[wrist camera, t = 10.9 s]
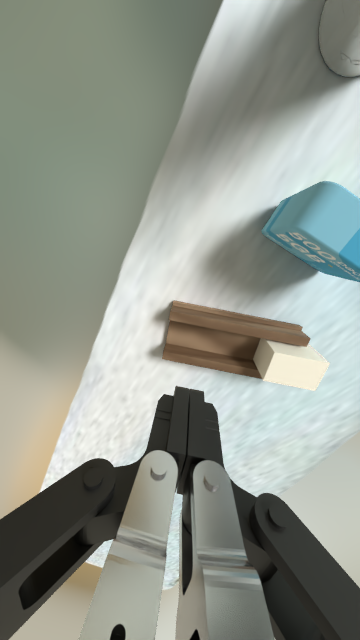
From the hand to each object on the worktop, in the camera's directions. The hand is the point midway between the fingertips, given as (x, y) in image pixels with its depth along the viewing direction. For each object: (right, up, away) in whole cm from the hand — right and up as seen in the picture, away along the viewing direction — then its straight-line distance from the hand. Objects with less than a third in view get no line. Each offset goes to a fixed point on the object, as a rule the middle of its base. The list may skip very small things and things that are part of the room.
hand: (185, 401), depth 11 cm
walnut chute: (+9, +1, +26) cm, 27 cm away
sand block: (+17, -1, +25) cm, 30 cm away
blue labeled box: (+18, +16, +19) cm, 31 cm away
